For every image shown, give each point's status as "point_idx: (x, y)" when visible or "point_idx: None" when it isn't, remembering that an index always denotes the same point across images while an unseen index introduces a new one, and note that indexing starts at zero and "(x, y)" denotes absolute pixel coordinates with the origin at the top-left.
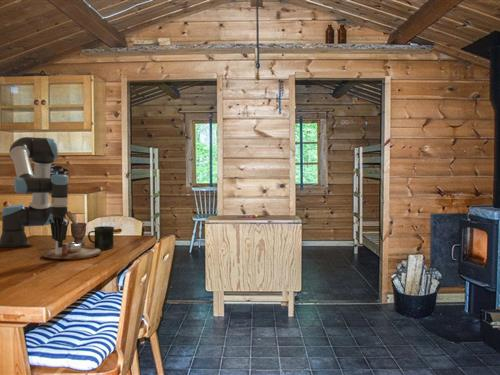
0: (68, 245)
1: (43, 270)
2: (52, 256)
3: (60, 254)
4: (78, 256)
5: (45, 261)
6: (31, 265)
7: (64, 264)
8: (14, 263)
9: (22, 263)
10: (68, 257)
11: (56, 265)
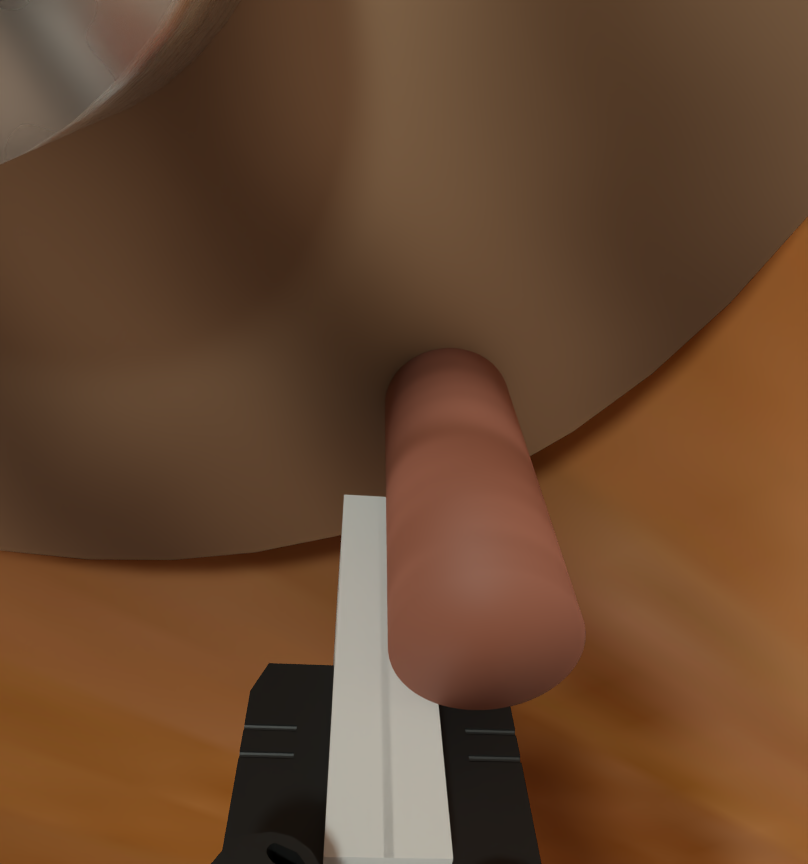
0: (43, 74)
1: (705, 854)
2: (238, 550)
3: (169, 332)
4: (789, 233)
5: (241, 602)
6: None
7: (725, 587)
8: (42, 834)
9: (120, 798)
10: (589, 407)
11: (654, 674)
